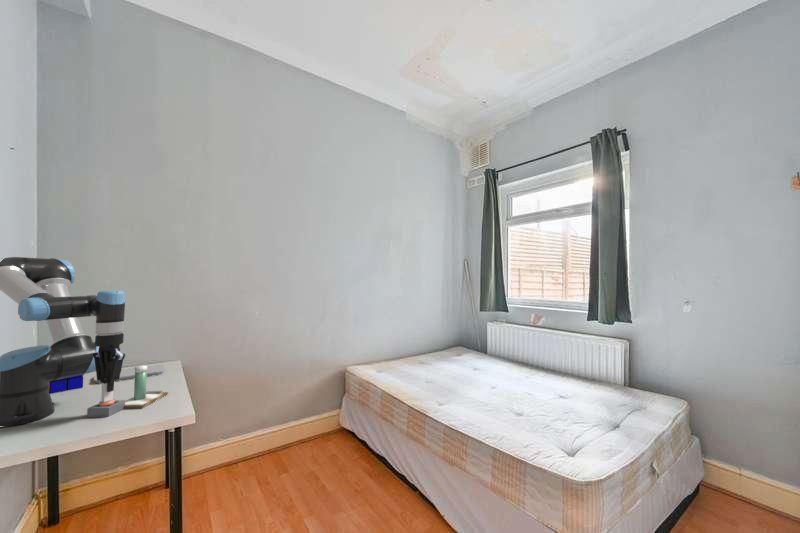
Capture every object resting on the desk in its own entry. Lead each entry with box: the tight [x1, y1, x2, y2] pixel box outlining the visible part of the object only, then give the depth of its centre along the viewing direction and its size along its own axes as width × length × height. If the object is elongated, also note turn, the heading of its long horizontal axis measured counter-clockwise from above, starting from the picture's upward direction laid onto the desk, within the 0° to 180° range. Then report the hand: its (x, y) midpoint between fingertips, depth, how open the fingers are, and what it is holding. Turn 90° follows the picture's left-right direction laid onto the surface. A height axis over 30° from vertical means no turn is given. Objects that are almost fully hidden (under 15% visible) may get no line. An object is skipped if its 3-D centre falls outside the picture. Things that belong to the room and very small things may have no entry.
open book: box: [123, 390, 169, 410], centre depth 123 cm, size 14×10×2 cm
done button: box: [98, 398, 116, 407], centre depth 113 cm, size 4×4×2 cm
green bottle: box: [133, 364, 148, 400], centre depth 123 cm, size 4×4×12 cm
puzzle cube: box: [48, 375, 84, 395], centre depth 138 cm, size 10×10×10 cm
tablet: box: [93, 364, 166, 385], centre depth 157 cm, size 16×26×2 cm, turn 130°
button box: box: [86, 399, 126, 418], centre depth 113 cm, size 7×7×3 cm
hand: (107, 400), depth 113 cm, fingers closed
